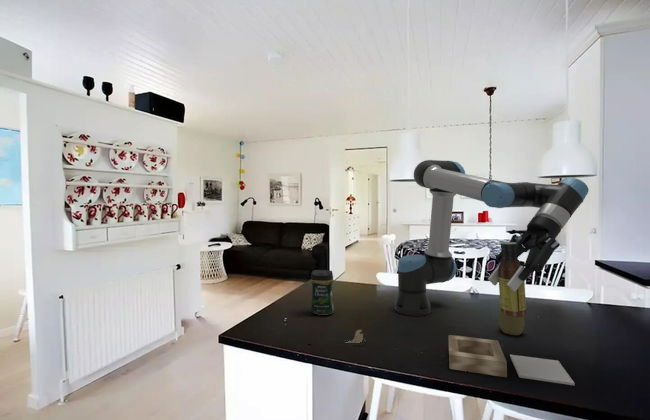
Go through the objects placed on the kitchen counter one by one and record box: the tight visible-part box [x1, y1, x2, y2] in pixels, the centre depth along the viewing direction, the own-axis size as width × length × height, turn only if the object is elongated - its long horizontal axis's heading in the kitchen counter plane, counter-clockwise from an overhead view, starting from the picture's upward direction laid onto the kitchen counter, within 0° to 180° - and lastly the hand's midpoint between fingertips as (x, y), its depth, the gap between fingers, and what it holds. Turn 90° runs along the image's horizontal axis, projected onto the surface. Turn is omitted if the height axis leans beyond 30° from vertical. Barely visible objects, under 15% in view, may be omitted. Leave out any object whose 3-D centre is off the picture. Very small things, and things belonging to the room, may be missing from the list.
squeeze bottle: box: [498, 306, 525, 336], centre depth 111 cm, size 8×8×18 cm
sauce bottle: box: [498, 241, 527, 317], centre depth 87 cm, size 7×6×20 cm
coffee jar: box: [310, 269, 335, 314], centre depth 135 cm, size 10×8×19 cm
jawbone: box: [345, 329, 366, 343], centre depth 105 cm, size 9×20×2 cm, turn 113°
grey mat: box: [509, 354, 575, 386], centre depth 86 cm, size 12×12×1 cm
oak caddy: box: [448, 334, 508, 378], centre depth 92 cm, size 14×14×4 cm
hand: (501, 284), depth 87 cm, fingers closed on sauce bottle, 6 cm apart
